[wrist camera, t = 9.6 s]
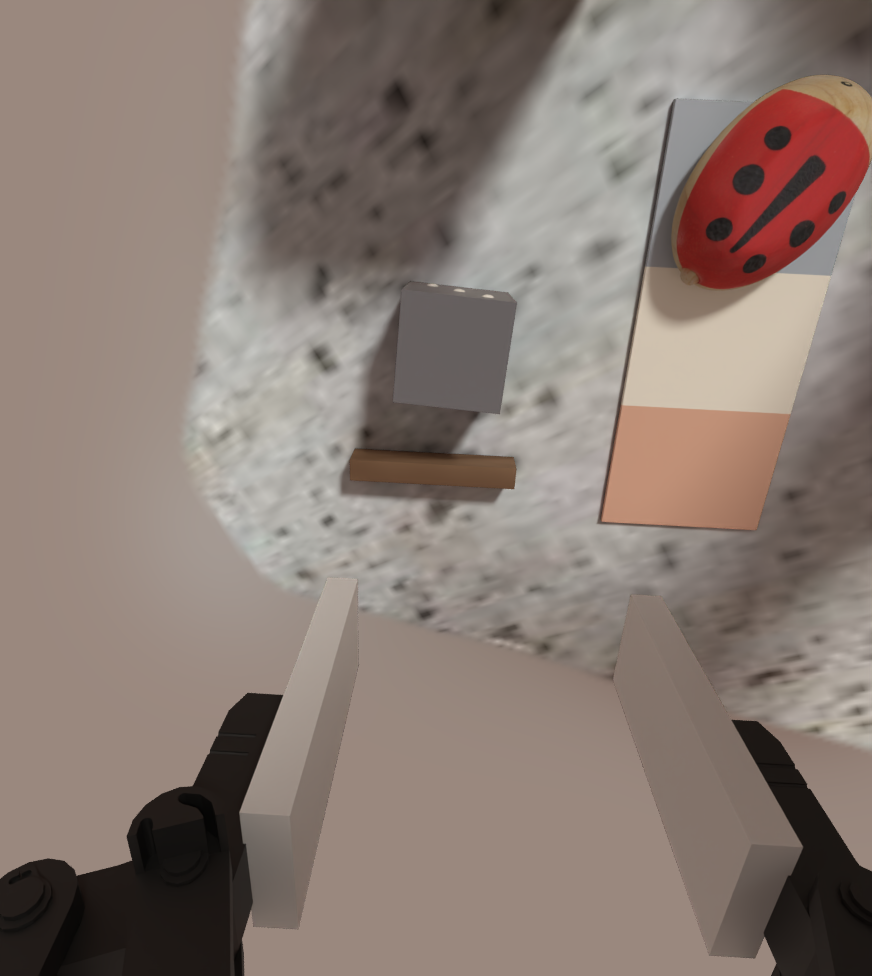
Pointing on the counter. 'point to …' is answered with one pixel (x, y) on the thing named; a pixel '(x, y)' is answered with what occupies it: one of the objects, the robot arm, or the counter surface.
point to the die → (453, 347)
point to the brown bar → (433, 468)
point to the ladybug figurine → (772, 182)
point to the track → (709, 365)
